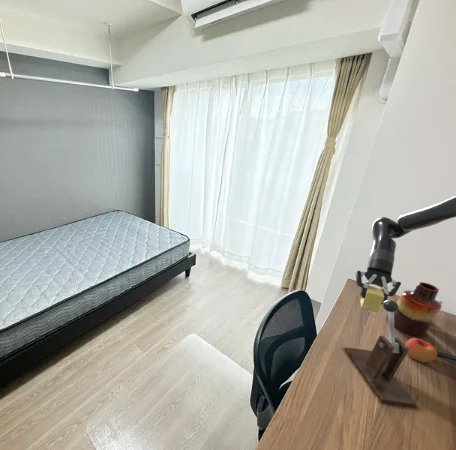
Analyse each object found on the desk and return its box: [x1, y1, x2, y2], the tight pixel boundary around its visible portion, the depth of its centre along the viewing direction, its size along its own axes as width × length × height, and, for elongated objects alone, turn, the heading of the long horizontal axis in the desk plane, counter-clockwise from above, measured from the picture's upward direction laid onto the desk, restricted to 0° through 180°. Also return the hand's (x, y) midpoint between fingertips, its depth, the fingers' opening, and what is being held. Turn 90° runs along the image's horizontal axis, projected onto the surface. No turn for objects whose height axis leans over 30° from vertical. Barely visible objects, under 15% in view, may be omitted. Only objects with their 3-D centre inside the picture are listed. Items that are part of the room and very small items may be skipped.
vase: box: [394, 281, 442, 338], centre depth 96 cm, size 11×11×20 cm
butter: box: [360, 285, 384, 314], centre depth 97 cm, size 5×6×8 cm
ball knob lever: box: [382, 299, 399, 353], centre depth 75 cm, size 15×4×4 cm
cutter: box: [344, 335, 417, 407], centre depth 76 cm, size 18×9×15 cm, turn 173°
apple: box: [405, 337, 438, 363], centre depth 84 cm, size 7×7×8 cm
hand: (372, 300), depth 95 cm, fingers closed on butter, 5 cm apart
